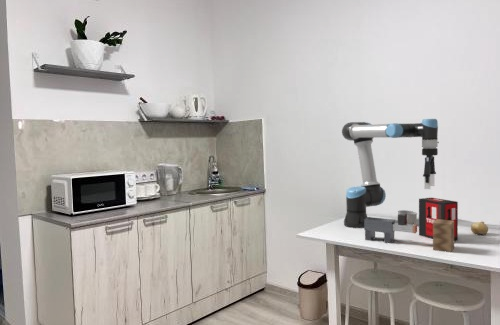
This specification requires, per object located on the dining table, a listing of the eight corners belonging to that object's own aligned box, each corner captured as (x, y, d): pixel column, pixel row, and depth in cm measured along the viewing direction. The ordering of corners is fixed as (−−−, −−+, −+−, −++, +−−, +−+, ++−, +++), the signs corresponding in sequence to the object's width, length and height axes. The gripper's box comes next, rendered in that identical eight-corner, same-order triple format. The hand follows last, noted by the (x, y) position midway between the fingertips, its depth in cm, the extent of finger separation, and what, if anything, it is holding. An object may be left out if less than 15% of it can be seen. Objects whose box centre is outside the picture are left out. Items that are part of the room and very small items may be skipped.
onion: (484, 236, 198) (484, 223, 197) (468, 234, 204) (468, 221, 204) (490, 234, 202) (490, 221, 202) (474, 231, 209) (474, 219, 208)
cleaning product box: (457, 240, 192) (457, 201, 191) (444, 242, 189) (444, 203, 188) (431, 233, 208) (431, 197, 206) (419, 235, 204) (418, 198, 203)
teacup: (407, 222, 237) (407, 209, 236) (421, 225, 227) (421, 212, 226) (389, 224, 232) (389, 211, 231) (402, 228, 222) (402, 214, 221)
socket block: (433, 249, 177) (433, 222, 177) (436, 245, 184) (436, 219, 184) (450, 252, 173) (450, 224, 172) (454, 247, 180) (454, 220, 179)
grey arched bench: (364, 239, 198) (363, 219, 198) (368, 236, 204) (368, 216, 203) (391, 243, 190) (391, 222, 189) (395, 240, 195) (395, 219, 195)
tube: (372, 228, 196) (372, 212, 196) (375, 226, 200) (375, 211, 200) (414, 233, 184) (414, 216, 183) (417, 231, 188) (417, 214, 187)
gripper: (433, 148, 188) (433, 190, 189) (440, 147, 208) (440, 185, 210) (417, 148, 192) (417, 189, 193) (426, 147, 213) (425, 184, 214)
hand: (429, 187), depth 202 cm, fingers open, 13 cm apart
